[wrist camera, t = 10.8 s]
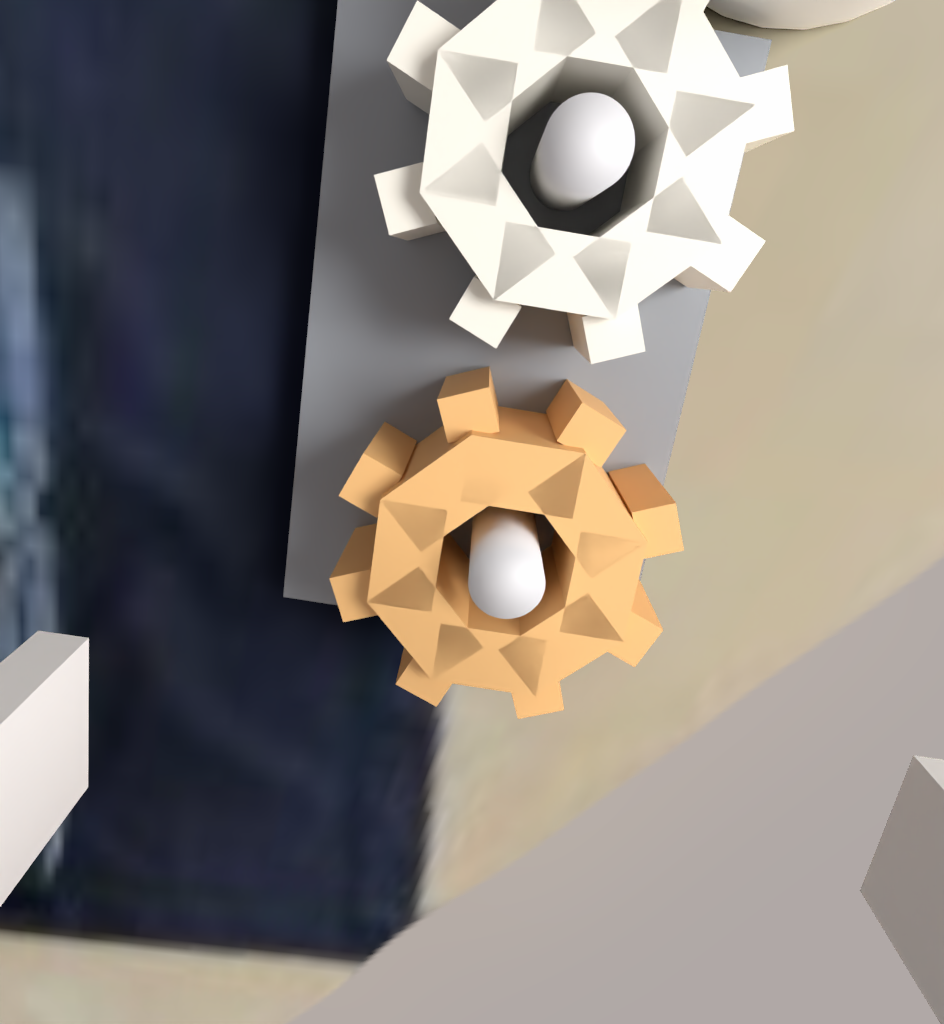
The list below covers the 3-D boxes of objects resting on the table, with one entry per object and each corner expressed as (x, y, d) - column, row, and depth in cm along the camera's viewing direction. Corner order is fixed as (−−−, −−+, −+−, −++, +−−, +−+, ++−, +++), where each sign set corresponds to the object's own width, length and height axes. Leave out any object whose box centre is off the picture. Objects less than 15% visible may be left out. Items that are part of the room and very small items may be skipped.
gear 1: (380, 315, 24) (353, 327, 19) (423, -47, 21) (404, -138, 16) (686, 365, 24) (735, 390, 19) (771, 15, 21) (852, -58, 16)
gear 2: (343, 623, 27) (312, 699, 22) (376, 347, 24) (348, 368, 20) (613, 664, 27) (639, 748, 23) (677, 397, 24) (723, 428, 20)
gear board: (293, 579, 28) (227, 686, 21) (350, -17, 23) (285, -147, 15) (617, 630, 29) (658, 751, 22) (754, 53, 23) (873, -42, 16)
